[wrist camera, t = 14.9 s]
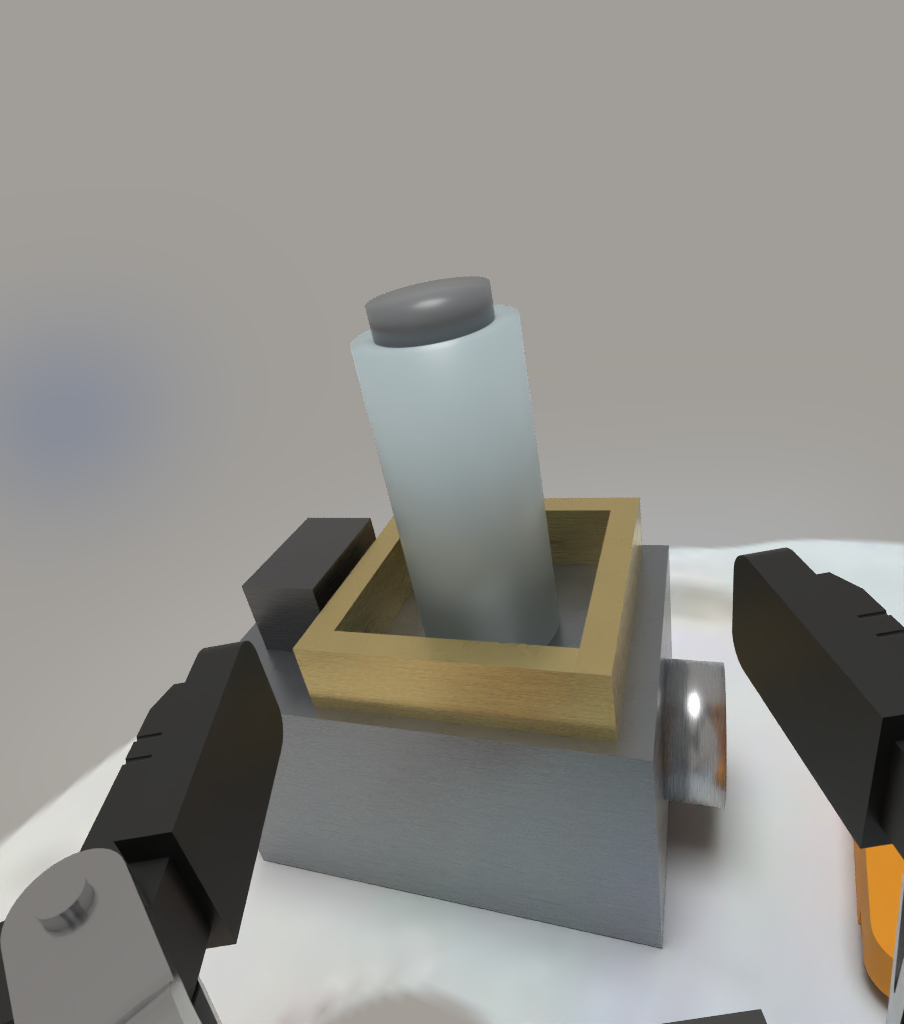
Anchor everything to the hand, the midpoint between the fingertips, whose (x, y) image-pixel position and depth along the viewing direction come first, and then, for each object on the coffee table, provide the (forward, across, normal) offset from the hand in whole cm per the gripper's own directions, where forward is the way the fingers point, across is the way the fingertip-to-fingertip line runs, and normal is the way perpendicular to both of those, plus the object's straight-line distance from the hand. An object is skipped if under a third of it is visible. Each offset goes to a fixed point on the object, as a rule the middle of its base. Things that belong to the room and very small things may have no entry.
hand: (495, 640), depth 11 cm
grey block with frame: (+12, +2, +17) cm, 21 cm away
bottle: (+11, 0, +8) cm, 14 cm away
